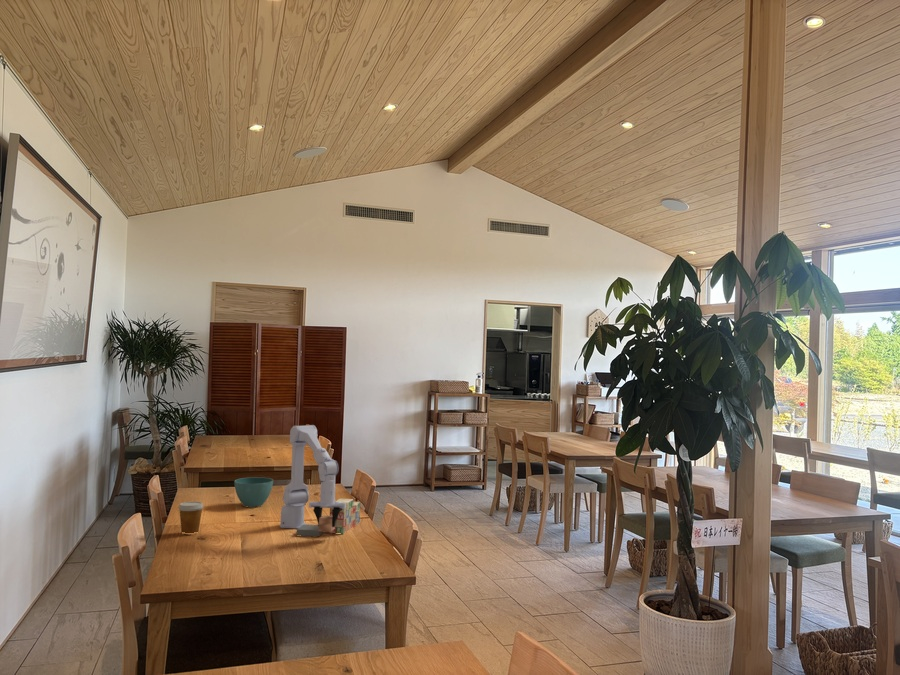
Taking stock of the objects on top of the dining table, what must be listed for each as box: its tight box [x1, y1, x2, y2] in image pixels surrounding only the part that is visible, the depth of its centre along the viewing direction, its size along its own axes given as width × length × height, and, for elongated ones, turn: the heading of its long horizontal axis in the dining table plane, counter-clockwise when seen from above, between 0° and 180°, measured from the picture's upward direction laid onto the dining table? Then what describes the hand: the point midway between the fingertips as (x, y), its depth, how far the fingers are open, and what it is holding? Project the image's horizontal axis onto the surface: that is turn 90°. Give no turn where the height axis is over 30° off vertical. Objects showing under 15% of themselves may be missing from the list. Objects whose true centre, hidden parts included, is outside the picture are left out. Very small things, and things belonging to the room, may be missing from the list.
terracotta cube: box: [319, 515, 335, 533], centre depth 265 cm, size 5×5×5 cm
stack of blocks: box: [328, 498, 361, 535], centre depth 285 cm, size 21×6×12 cm, turn 169°
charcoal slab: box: [296, 523, 325, 537], centre depth 274 cm, size 9×9×3 cm
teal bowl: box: [234, 476, 274, 508], centre depth 327 cm, size 18×18×12 cm
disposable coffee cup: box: [178, 501, 204, 533], centre depth 271 cm, size 10×10×12 cm
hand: (326, 526), depth 265 cm, fingers closed on terracotta cube, 5 cm apart
